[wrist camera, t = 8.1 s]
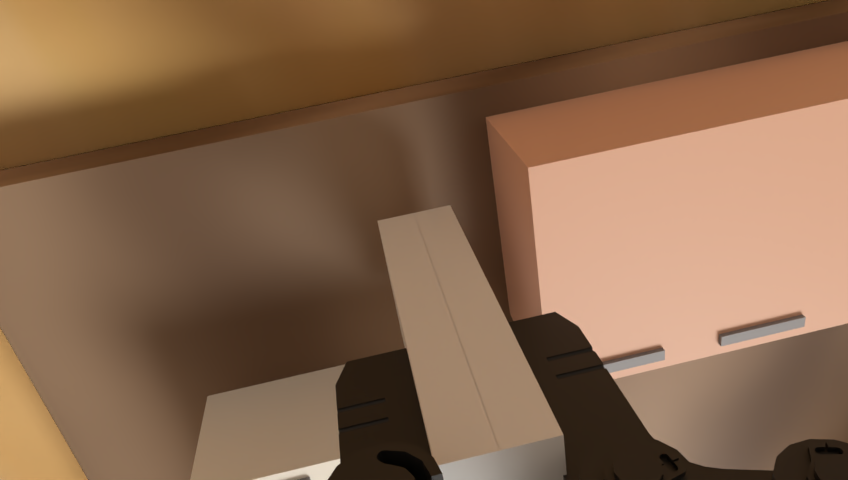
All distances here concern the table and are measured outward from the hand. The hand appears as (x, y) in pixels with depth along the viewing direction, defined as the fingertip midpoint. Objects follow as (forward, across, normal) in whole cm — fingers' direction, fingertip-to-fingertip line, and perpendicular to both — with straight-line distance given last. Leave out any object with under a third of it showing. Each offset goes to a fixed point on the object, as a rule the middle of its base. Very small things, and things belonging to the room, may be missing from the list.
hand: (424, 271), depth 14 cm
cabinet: (+1, +6, 0) cm, 6 cm away
